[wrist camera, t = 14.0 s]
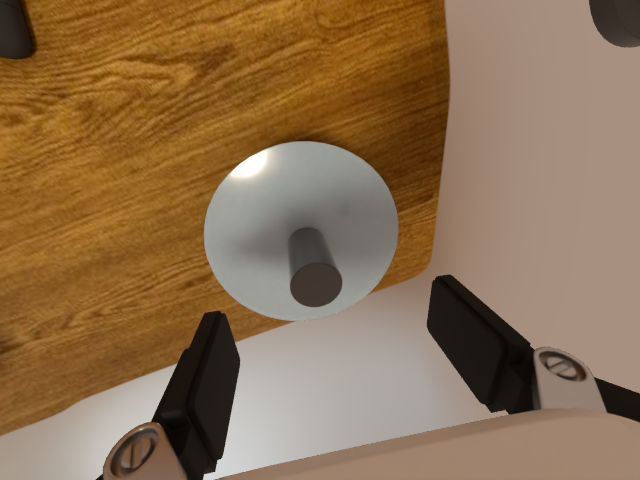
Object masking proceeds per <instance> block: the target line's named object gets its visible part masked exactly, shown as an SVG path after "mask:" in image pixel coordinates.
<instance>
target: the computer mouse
mask: <svg viewBox="0 0 640 480" xmlns="http://www.w3.org/2000/svg"><path fill="white" fill-rule="evenodd" d="M31 47H32V44H31V39H30V36H29V32H28V29H27V25H26V22H25V19H24V15H23V12H22V8H21V5H20V1H19V0H0V57H4V58H10V59H20V58H24V57H26V56H27V55H28V54H29V53H30V51H31Z"/></svg>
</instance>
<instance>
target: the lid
mask: <svg viewBox="0 0 640 480" xmlns="http://www.w3.org/2000/svg"><path fill="white" fill-rule="evenodd" d="M397 239H398V217H397V210H396V206H395V203H394V200H393V197H392V195H391V193H390V191H389V189H388V187H387V185H386V184H385V182H384V181H383V179H382V178H381V176H380V175H379V174H378V173H377V172H376V171H375V170H374V169H373V167H371V166H370V165H369V164H368V163H367V162H365V161H364V160H363V159H362V158H360V157H358V156H357V155H355V154H353V153H352V152H350V151H347V150H345V149H343V148H340V147H338V146H334V145H330V144H326V143H322V142H313V141H293V142H287V143H282V144H277V145H274V146H271V147H268V148H265V149H263V150H261V151H259V152H257V153H255V154H253V155H251V156H250V157H248V158H247V159H245V160H244V161H242V162H241V163H239V164H238V165H237V166H236V167H235V168H234V169H233V170H232V171H231V172H230V173H229V174H228V175H227V176H226V177H225V178H224V180H223V181H222V182H221V183H220V185H219V186H218V188H217V190H216V191H215V193H214V195H213V197H212V199H211V202H210V204H209V207H208V209H207V213H206V218H205V222H204V245H205V251H206V255H207V259H208V262H209V264H210V267H211V269H212V271H213V273H214V275H215V276H216V278H217V280H218V281H219V283H220V284H221V285H222V287H223V288H224V289H225V290H226V291H227V292H228V293H229V294H230V295H231V296H232V297H233V298H234V299H235V300H237V301H238V302H239V303H241V304H242V305H244V306H245V307H247V308H249V309H251V310H252V311H255V312H257V313H259V314H262V315H265V316H268V317H271V318H276V319H281V320H290V321H305V320H314V319H319V318H324V317H327V316H330V315H333V314H336V313H339V312H341V311H343V310H345V309H347V308H349V307H351V306H352V305H354V304H355V303H357V302H358V301H360V300H361V299H362V298H364V297H365V296H366V295H367V294H368V293H369V292H370V291H372V290H373V288H374V287H375V286H376V285H377V284H378V283H379V281H380V280H381V279H382V277H383V276H384V274H385V273H386V271H387V269H388V267H389V265H390V263H391V261H392V258H393V256H394V253H395V249H396V245H397Z"/></svg>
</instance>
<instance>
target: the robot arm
mask: <svg viewBox="0 0 640 480" xmlns="http://www.w3.org/2000/svg"><path fill="white" fill-rule="evenodd" d="M427 328H428V330H429V333H430V334H431V335H432V337H433V338H434V340H435V341H436V342H437V344H438V345H439V346H440V348H441V349H442V351H443V352H444V353H445V355H446V356H447V358H448V359H449V360H450V362H451V363H452V364H453V366H454V367H455V368H456V370H457V371H458V373H459V374H460V376H461V377H462V378H463V380H464V381H465V383H466V384H467V385H468V387H469V388H470V390H471V391H472V392H473V394H474V395H475V396H476V398H477V399H478V400H479V402H480V403H482V404H485V405H486V406H487V408H488V409H489V411H490V412H491V413H493V412H498V411H503V410H506V411H507V412H508V414H509V415H506V416H501V417H496V418H491V419H486V420H481V421H476V422H471V423H466V424H461V425H457V426H452V427H447V428H442V429H438V430H433V431H428V432H423V433H418V434H414V435H409V436H404V437H400V438H395V439H390V440H386V441H381V442H376V443H372V444H367V445H362V446H358V447H353V448H349V449H345V450H340V451H335V452H330V453H326V454H322V455H317V456H312V457H308V458H304V459H299V460H294V461H290V462H285V463H281V464H276V465H271V466H267V467H263V468H259V469H255V470H251V471H247V472H242V473H239V474H234V475H230V476H226V477H222V478H219V479H216V480H640V394H639V393H636V392H633V391H631V390H628V389H625V388H622V387H620V386H617V385H614V384H612V383H609V382H606V381H603V380H601V379H598V378H595V377H594V376H593V374H592V372H591V371H590V369H589V368H588V367H587V366H586V365H585V364H584V363H583V362H582V361H580V360H579V359H577V358H576V357H574V356H573V355H571V354H569V353H567V352H564V351H562V350H559V349H555V348H551V347H540V348H537V349H536V350H534V349H533V348H532V347H531V346H530V343H529V342H528V341H527V340H526V339H525V338H524V337H523V336H521V335H520V334H519V333H518V332H517V331H516V330H514V329H513V328H512V327H511V326H510V325H509V324H508V323H506V322H505V321H504V320H503V319H501V317H499V316H498V315H497V314H496V313H495V312H494V311H492V310H491V309H490V308H489V307H488V306H487V305H485V304H484V303H483V302H482V301H481V300H480V299H479V298H477V297H476V296H475V295H474V294H473V293H472V292H470V291H469V290H468V289H467V288H466V287H465V286H463V285H462V284H461V283H460V282H459V281H457V279H455V278H454V277H453V276H452V275H443V276H437V277H436V278H435V280H433V282H432V288H431V297H430V303H429V311H428V319H427ZM239 368H240V357H239V354H238V351H237V348H236V345H235V342H234V338H233V335H232V332H231V329H230V326H229V323H228V320H227V317H226V315H225V314H224V313H223V314H221V312H220V311H214V312H207V313H205V314H204V315H203V317H202V320H201V322H200V324H199V327H198V329H197V331H196V334H195V336H194V338H193V340H192V343H191V345H190V347H189V348H188V349H186V350H184V352H183V353H182V355H181V357H180V359H179V362H178V364H177V366H176V368H175V370H174V372H173V375H172V377H171V379H170V381H169V384H168V386H167V388H166V390H165V392H164V395H163V397H162V399H161V401H160V403H159V405H158V407H157V410H156V412H155V414H154V416H153V419H152V421H151V422H148V423H144V424H142V425H139V426H137V427H135V428H134V429H132V430H131V431H129V432H128V433H127V434H126V435H124V436H123V437H122V438H121V439H120V440H119V441H118V443H116V445H115V446H114V447H113V448H112V450H111V451H110V453H109V455H108V457H107V458H106V461H105V464H104V466H103V474H102V475H101V476H100V477H98V478H97V479H96V480H203V476H204V474H207V473H211V472H215V469H216V464H217V460H219V459H221V458H222V456H223V452H224V447H225V442H226V436H227V431H228V426H229V420H230V415H231V409H232V405H233V399H234V394H235V389H236V383H237V378H238V373H239Z"/></svg>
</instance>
